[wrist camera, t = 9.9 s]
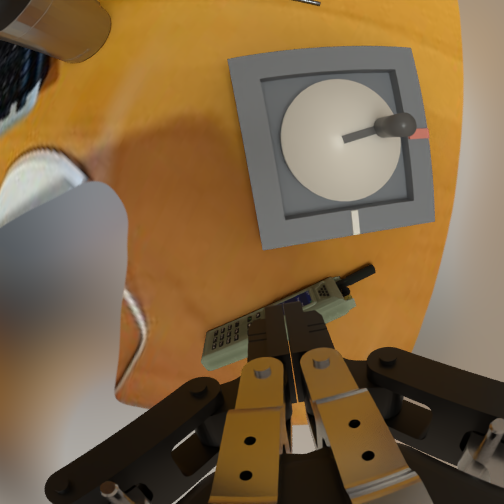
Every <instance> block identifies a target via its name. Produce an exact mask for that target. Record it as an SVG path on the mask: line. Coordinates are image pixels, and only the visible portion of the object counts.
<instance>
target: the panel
mask: <svg viewBox="0 0 504 504" xmlns="http://www.w3.org/2000/svg"><path fill="white" fill-rule="evenodd" d="M228 64H229V69H230V75H231V80H232V85H233V90H234V96H235V101H236V106H237V111H238V117H239V122H240V127H241V133H242V138H243V143H244V149H245V154H246V160H247V165H248V170H249V176H250V181H251V187H252V192H253V198H254V203H255V209H256V215H257V220H258V226H259V231H260V237H261V243H262V248H263V250H268V249H274V248H280V247H286V246H292V245H298V244H304V243H309V242H315V241H321V240H327V239H333V238H339V237H345V236H351V235H357V234H363V233H369V232H375V231H381V230H387V229H393V228H399V227H405V226H410V225H416V224H422V223H428V222H434V221H435V211H434V190H433V176H432V165H431V155H430V146H429V131H428V128H427V124H426V117H425V111H424V105H423V100H422V95H421V90H420V85H419V80H418V75H417V71H416V67H415V62H414V58H413V54H412V51H411V48H406V47H385V46H341V47H319V48H306V49H294V50H285V51H276V52H268V53H261V54H254V55H248V56H242V57H236V58H231V59H228ZM330 79H345V80H350V81H354V82H357V83H360V84H362V85H364V86H366V87H368V88H370V89H371V90H373V91H374V92H376V93H377V94H378V95H379V96H380V97H381V98H382V99H383V100H384V101H385V102H386V103H387V105H388V106H389V108H390V109H391V111H392V112H393V114H399V113H409V114H411V115H412V116H413V117H414V119H415V121H416V124H417V128H416V131H415V133H414V134H413V135H412V136H409V137H400V138H401V148H400V156H399V160H398V163H397V166H396V169H395V170H394V172H393V174H392V176H391V177H390V179H389V180H388V181H387V182H386V184H385V185H384V186H383V187H381V188H380V189H379V190H378V191H376V192H375V193H373V194H372V195H370V196H367V197H365V198H362V199H359V200H354V201H335V200H330V199H326V198H324V197H321V196H319V195H317V194H315V193H313V192H312V191H310V190H309V189H307V188H306V187H305V186H303V185H302V184H301V183H300V182H299V181H298V180H297V179H296V178H295V177H294V175H293V174H292V173H291V171H290V170H289V168H288V166H287V164H286V162H285V160H284V157H283V154H282V150H281V144H280V131H281V125H282V120H283V118H284V115H285V113H286V111H287V109H288V107H289V106H290V104H291V103H292V102H293V100H294V99H295V98H296V97H297V96H298V95H299V94H300V93H301V92H302V91H303V90H305V89H306V88H308V87H309V86H311V85H313V84H315V83H318V82H321V81H325V80H330Z"/></svg>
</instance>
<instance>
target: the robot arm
mask: <svg viewBox="0 0 504 504" xmlns="http://www.w3.org/2000/svg"><path fill="white" fill-rule="evenodd" d="M110 26H111V21H110V17H109V14H108V13H107V12H106V10H104V9H103V8H102V7H101V6H100V2H99V1H97V0H0V40H3V41H7V42H10V43H13V44H16V45H19V46H22V47H25V48H28V49H31V50H34V51H37V52H40V53H43V54H46V55H48V56H51V57H54V58H57V59H59V60H62V61H65V62H67V63H78V62H81V61H84V60H86V59H88V58H89V57H91V56H92V55H93V54H95V53H96V52H97V51H98V50H99V49H100V48H101V46H102V45H103V44H104V42H105V41H106V39H107V37H108V34H109V31H110ZM283 306H284V313H285V319H286V326H287V332H288V339H289V345H290V351H291V357H292V364H293V370H294V376H295V382H296V388H297V394H298V401H299V402H303V401H304V402H305V407H306V416H307V421H308V424H309V427H310V431H311V435H312V438H313V441H314V445H315V449H316V450H315V451H313V452H310V453H307V454H292V417H291V415H292V403H297V400H296V393H295V386H294V379H293V372H292V365H291V358H290V351H289V345H288V339H287V333H286V327H285V321H284V315H283V309H282V304H279V305H273V306H267V307H265V319H258V320H254V321H253V322H252V323H251V325H250V326H249V328H248V360H247V364H246V365H245V366H244V367H243V369H242V371H241V376H240V377H238V378H237V379H235V380H233V381H230V382H227V383H224V384H221V385H220V384H219V382H218V381H217V380H215V379H213V378H210V377H198V378H194V379H192V380H189V381H188V382H186V383H185V384H183V385H182V386H181V387H179V388H178V389H177V390H175V391H174V392H173V393H171V394H170V395H169V396H167V397H166V398H164V399H163V400H162V401H160V402H159V403H158V404H156V405H155V406H153V407H152V408H151V409H149V410H148V411H147V412H145V413H144V414H142V415H141V416H140V417H138V418H137V419H136V420H134V421H133V422H131V423H130V424H128V425H127V426H125V427H124V428H122V429H121V430H119V431H118V432H117V433H115V434H114V435H112V436H111V437H109V438H108V439H106V440H105V441H103V442H102V443H100V444H99V445H97V446H96V447H94V448H93V449H91V450H90V451H88V452H87V453H85V454H84V455H82V456H81V457H79V458H77V459H76V460H75V461H73V462H71V463H69V464H68V465H66V466H65V467H63V468H61V469H60V470H58V471H57V472H55V473H54V474H52V475H51V476H50V477H49V478H48V480H47V482H46V484H45V494H46V497H47V499H48V500H49V501H50V502H52V504H172V503H173V502H174V501H176V500H177V499H178V498H179V497H180V496H182V495H183V494H184V493H185V492H186V491H188V490H189V489H190V488H191V487H192V486H193V485H195V484H196V483H197V482H198V481H199V480H200V479H201V478H202V477H204V476H205V475H206V474H207V473H208V472H209V471H210V470H211V469H212V468H214V467H215V466H216V465H217V466H216V471H215V472H213V473H212V474H210V475H208V476H207V477H205V478H204V479H203V480H201V481H200V482H199V483H198V484H197V485H196V486H195V487H194V488H193V489H192V490H190V491H189V492H188V493H187V494H186V495H185V496H184V497H183V498H182V499H180V500H179V501H178V502H177V503H176V504H504V382H500V381H497V380H493V379H490V378H487V377H484V376H481V375H477V374H474V373H471V372H468V371H465V370H461V369H458V368H455V367H452V366H449V365H446V364H443V363H440V362H437V361H434V360H431V359H428V358H425V357H422V356H419V355H416V354H413V353H410V352H407V351H404V350H401V349H398V348H394V347H384V348H379V349H377V350H375V351H373V352H372V353H370V355H369V356H368V358H367V361H355V360H348V359H345V358H343V357H342V355H341V354H340V353H339V352H338V351H337V350H335V348H334V346H333V343H332V340H331V338H330V335H329V332H328V330H327V327H326V325H325V322H324V319H323V317H322V315H321V314H319V313H318V312H317V311H315V310H312V311H306V312H303V308H302V305H301V302H300V301H296V302H290V303H285V304H283ZM404 396H405V397H407V398H409V399H412V400H414V401H417V402H419V403H422V404H425V405H426V406H428V407H429V408H430V409H431V411H430V410H428V409H425V408H423V407H420V406H418V405H416V404H413V403H410V402H408V401H406V400H403V397H404ZM193 430H195V433H194V434H193V435H191V436H190V437H189V438H188V439H187V440H185V441H184V442H183V443H182V444H180V445H179V446H178V447H177V448H176V449H174V450H173V451H172V449H173V448H174V446H175V445H176V444H177V443H178V442H180V441H181V440H182V439H184V438H185V437H186V436H187V435H188V434H190V433H191V432H192V431H193ZM394 439H396V440H398V441H400V442H403V443H405V444H407V445H409V446H407V445H404V444H400V443H396V442H395V440H394ZM410 446H411V447H410ZM412 447H413V448H412ZM414 448H416V449H418V450H420V451H422V452H425V453H427V454H429V455H431V456H434V457H436V458H439V459H441V460H443V461H446V462H448V463H451V464H453V465H456V466H458V469H456V468H454V467H452V466H450V465H447V464H445V463H443V462H441V461H439V460H437V459H435V458H432V457H430V456H428V455H426V454H424V453H422V452H420V451H418V450H416V449H414Z"/></svg>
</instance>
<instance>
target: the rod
mask: <svg viewBox="0 0 504 504" xmlns="http://www.w3.org/2000/svg"><path fill="white" fill-rule="evenodd" d="M293 1H298V2H303V3H307V4H312V5H316V6H320V3H321V2H318V1H314V0H293Z"/></svg>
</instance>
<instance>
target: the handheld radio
mask: <svg viewBox="0 0 504 504" xmlns="http://www.w3.org/2000/svg"><path fill="white" fill-rule="evenodd" d="M374 273H375V268H374V266H373V265H372V264H371V265H369V266H367V267H365V268H363V269H361V270H359V271H357V272H355V273H353V274H351V275H349V276H347V277H346V278H344V279H342V280H341V279H340V276H339V277H334V278H332V277H329V278H327V279H325V280H323V281H320V282H318V283H316V284H314V285H312V286H310V287H308V288H306V289H303V290H301V291H299V292H297V293H295V294H293V295H290V296H288V297H286V298H284V299H282V300H279V301H277V302H275V303H273V304H271V305H268V306H273V305H279V304H282V309H283V315H284V321H285V327H286V333H287V339H288V332H287V326H286V319H285V313H284V306H283V304H285V303H290V302H296V301H300V302H301V305H302V308H303V312H306V311H312V310H315V311H317V312H318V313H319V314H321V315H322V317H323V319H324V322H325V324H326V323H328V322H330V321H333V320H335V319H337V318H339V317H341V316H343V315H345V314H347V313H348V312H349V310H350V309H352V308H354V307H355V306H356V304H355V301H354V298H353V299H352V296H351V295H350V290H349V288H348V287H347V286H349V285H352V284H354V283H356V282H358V281H360V280H362V279H364V278H366V277H368V276H370V275H372V274H374ZM266 307H267V306H266ZM258 319H265V307H264V308H262V309H259V310H257V311H255V312H253V313H250V314H248V315H246V316H244V317H241V318H239V319H237V320H234V321H232V322H230V323H227V324H225V325H223V326H220V327H218V328H216V329H213V330H211V331H209V332H207V334H206V339H205V344H204V349H203V354H202V359H201V363H202V364H203V366H204V367H205V368H206V369H207V370H208V371H212V370H215V369H218V368H220V367H223V366H226V365H228V364H231V363H234V362H236V361H239V360H241V359H244V358H247V357H248V328H249V326H250V325H251V323H252V322H253V321H254V320H258ZM288 340H289V339H288Z"/></svg>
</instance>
